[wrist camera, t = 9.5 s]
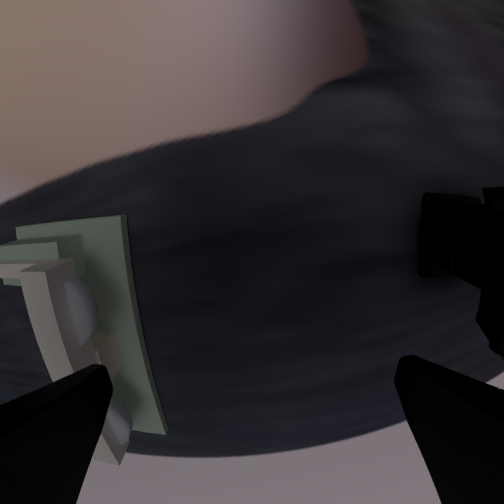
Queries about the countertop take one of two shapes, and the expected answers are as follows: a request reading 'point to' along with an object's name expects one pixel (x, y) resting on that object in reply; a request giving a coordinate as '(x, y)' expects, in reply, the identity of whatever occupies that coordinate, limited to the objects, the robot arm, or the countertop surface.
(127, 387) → the stand
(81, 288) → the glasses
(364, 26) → the countertop surface
